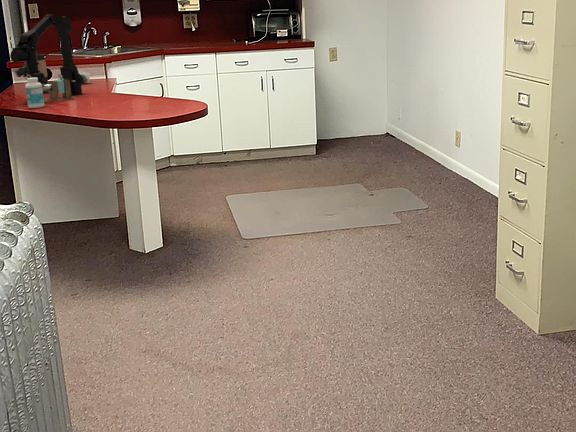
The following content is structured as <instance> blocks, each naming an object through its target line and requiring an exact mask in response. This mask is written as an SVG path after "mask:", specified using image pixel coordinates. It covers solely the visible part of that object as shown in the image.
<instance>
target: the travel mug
mask: <svg viewBox="0 0 576 432" xmlns="http://www.w3.org/2000/svg"><path fill="white" fill-rule="evenodd" d="M37 61H38V62H39V64H38V68H39V71H40V72H42V73H43V74H44V75H45V78H43V80H42V82H41V84H42V85H45V84H48V82H47V81H49V77H48V70H47V63H46V57H45V55H44V54H37ZM44 94H49V90H47V91H43V95H44Z"/></svg>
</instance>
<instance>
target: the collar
mask: <svg viewBox="0 0 576 432" xmlns="http://www.w3.org/2000/svg"><path fill="white" fill-rule="evenodd" d="M53 82H57V90H58V95H60V94H62V93H65V91H64V83H63V81H62V80H58V79H57V80H55V79H54V80H53Z"/></svg>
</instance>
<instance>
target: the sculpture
mask: <svg viewBox="0 0 576 432" xmlns="http://www.w3.org/2000/svg"><path fill="white" fill-rule="evenodd" d="M77 69H78V73H79V74H80V75H81V76H82V77H83V83H84V84H85V83H88V84H90V79H91V78H90V77H91V72H87V71H85V70H81V69H80V68H78V67H77ZM57 76H58V79H57V80H63V78H62V75H61V73H60V74H59V73H57ZM72 81H74V80H72Z"/></svg>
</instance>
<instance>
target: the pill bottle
mask: <svg viewBox="0 0 576 432" xmlns="http://www.w3.org/2000/svg"><path fill="white" fill-rule="evenodd" d="M26 78H27V77H26ZM26 81H27V83H25V85H24V90H25V94H26V95H25V96H26V101H27V107H28V108H30V109H38V108H43V107H45V102H44V99H45V98H44V94H43V90H42V84H41V83H39V82H38V78H27V80H26Z"/></svg>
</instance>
